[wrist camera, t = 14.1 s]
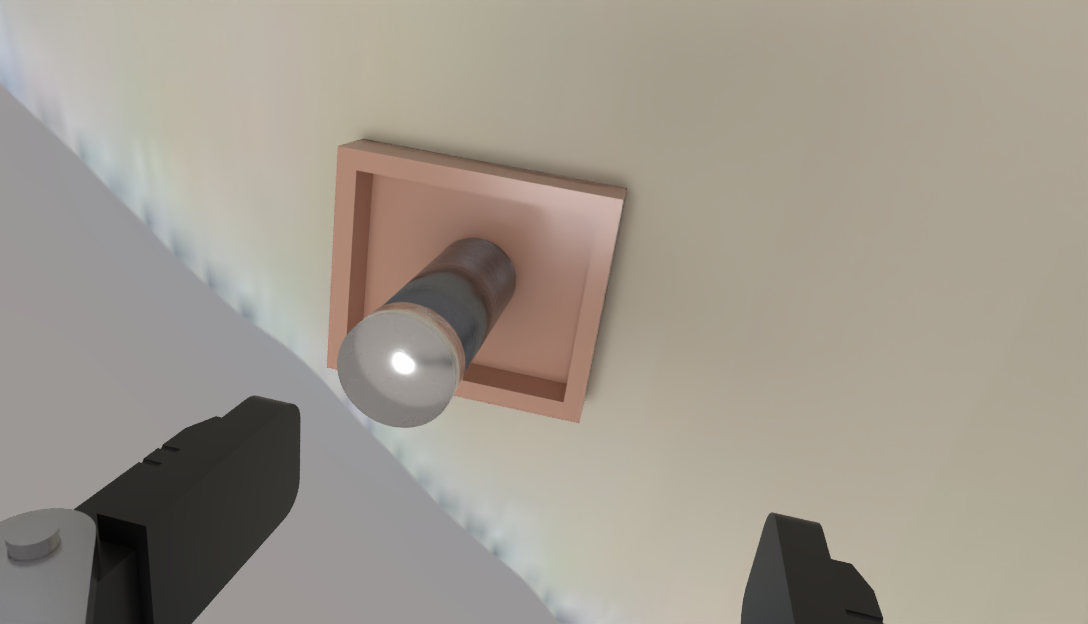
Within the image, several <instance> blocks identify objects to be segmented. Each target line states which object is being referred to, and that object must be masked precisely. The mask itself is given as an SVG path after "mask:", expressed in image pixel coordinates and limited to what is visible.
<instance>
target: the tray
mask: <svg viewBox="0 0 1088 624" xmlns="http://www.w3.org/2000/svg"><path fill="white" fill-rule="evenodd" d="M626 191H627V188H621V187H616V186H611V185H605V184H600V183H595V182H589V181H584V180H579V179H573V178H568V177H563V176H557V175H552V174H547V173H541V172H536V171H531V170H525V169H520V168H515V167H509V166H504V165H499V164H493V163H488V162H483V161H477V160H472V159H467V158H461V157H456V156H451V155H445V154H440V153H435V152H429V151H424V150H419V149H413V148H408V147H403V146H397V145H392V144H386V143H381V142H376V141H370V140H365V139H361V140H357V141H354V142H350V143H347V144H343V145H340V146H338V154H337V174H336V195H335V215H334V235H333V256H332V276H331V296H330V316H329V337H328V357H327V368H332V369H336V370H338V369H337V359H338V353H339V349H340V346H341V344H342V342H343V340H344V338H345V337H346V335H347V334H348V333H349V332H350V331H351V330H352V329H353V328H354V327H355V326H356V325H357V324H359V323H360V322H361V321H362V320H363V319H364V318H365V317H366V316H368V315H369V314H370V313H371V312H372V311H374V310H375V309H377V308H379V307H381V306H383V305H384V304H385V303H386V302H387V301H388V300H389V299H390V298H391V297H393V296H394V295H395V294H396V293H397V292H398V291H399V290H400V289H401V288H403V287H404V286H405V285H406V284H407V283H408V282H409V281H410V280H411V279H412V278H414V277H415V276H416V275H417V274H418V273H419V272H420V271H421V270H422V269H424V268H425V267H426V266H427V265H428V264H429V263H430V262H431V261H432V260H434V259H435V258H436V257H437V256H438V255H439V254H440V253H441V252H442V251H444V250H445V249H446V248H447V247H448V246H449V245H451V244H452V243H454V242H456V241H458V240H461V239H464V238H480V239H484V240H487V241H490V242H492V243H494V244H495V245H497V246H498V247H500V248H501V249H502V250H503V251H504V252H505V253H506V254H507V256H508V257H509V259H510V260H511V262H512V264H513V267H514V270H515V274H516V287H515V291H514V294H513V296H512V298H511V300H510V302H509V303H508V305H507V306H506V308H505V310H504V311H503V313H502V314H501V316H500V318H499V319H498V321H497V322H496V324H495V325H494V327H493V329H492V330H491V332H490V333H489V335H488V337H487V338H486V340H485V341H484V343H483V344H482V346H481V348H480V349H479V351H478V352H477V354H476V356H475V357H474V359H473V360H472V362H471V364H470V365H469V367H468V368H467V370H466V371H465V373H464V376H463V379H462V382H461V383H460V385H459V387H458V389H457V390H456V392H455V394H454V396H458V397H463V398H467V399H472V400H477V401H481V402H486V403H490V404H495V405H499V406H504V407H508V408H513V409H517V410H522V411H526V412H531V413H535V414H540V415H544V416H549V417H553V418H558V419H562V420H567V421H571V422H576V423H579V421H580V417H581V413H582V409H583V405H584V401H585V396H586V391H587V386H588V381H589V376H590V371H591V366H592V361H593V356H594V351H595V346H596V341H597V336H598V331H599V326H600V321H601V316H602V311H603V306H604V301H605V296H606V291H607V286H608V281H609V276H610V271H611V266H612V261H613V256H614V251H615V246H616V241H617V236H618V231H619V226H620V221H621V216H622V211H623V206H624V201H625V196H626Z"/></svg>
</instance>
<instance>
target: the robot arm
mask: <svg viewBox="0 0 1088 624" xmlns="http://www.w3.org/2000/svg"><path fill="white" fill-rule="evenodd" d="M299 480H300V412H299V409H298V407H297V406H296V405H295V404H291V403H286V402H282V401H277V400H273V399H268V398H264V397H260V396H251V397H249V398H247V399H246V400H244V401H243V402H242V403H241V404H239V405H238V406H237V407H235V408H234V409H233V410H231V411H230V412H229V413H228V414H226V415H225V416H224V417H222V418H221V417H217V416H216V417H213V418H211V419H208V420H205V421H203V422H200V423H198V424H195V425H192V426H190V427H187V428H185V429H184V430H182V431H181V432H179V433H178V434H177V435H176V436H174V437H173V438H171V439H170V440H169V441H167V442H166V443H164V444H163V446H162V448H161V449H159V448H158V449H156V450H155V451H153V452H152V453H151V454H149V455H148V456H147V457H145V458H144V460H143V462H142V463H140V462H138V463H137V464H136V465H134V466H133V467H132V468H130V469H129V470H127V471H126V472H125V473H123V474H122V475H120V476H119V477H118V478H116V479H115V480H114V481H112V482H111V483H110V484H108V485H107V486H105V487H104V488H103V489H101V490H100V491H99V492H97V493H96V494H94V495H93V496H92V497H90V498H89V499H88V500H86V501H85V502H83V503H82V504H81V505H79V506H78V507H77V508H75V509H74V510H72V509H63V508H56V509H55V508H54V509H53V508H51V509H41V510H35V511H31V512H27V513H23V514H19V515H16V516H13V517H11V518H8V519H6V520H4V521H1V522H0V624H192V623H193V621H194V620H195V619H196V618H197V617H198V616H199V615H200V614H201V612H202V611H203V610H204V609H205V608H206V607H207V606H208V605H209V603H210V602H211V601H212V600H213V599H214V598H215V597H216V596H217V594H218V593H219V592H220V591H221V590H222V589H223V588H224V586H225V585H226V584H227V583H228V582H229V581H230V580H231V579H232V577H233V576H234V575H235V574H236V573H237V572H238V571H239V569H240V568H241V567H242V566H243V565H244V564H245V563H246V562H247V560H248V559H249V558H250V557H251V556H252V555H253V554H254V553H255V551H256V550H257V549H258V548H259V547H260V546H261V545H262V544H263V542H264V541H265V540H266V539H267V538H268V537H269V536H270V534H271V533H272V532H273V531H274V530H275V529H276V528H277V527H278V526H279V524H280V523H281V522H282V521H283V520H284V519H285V518H286V516H287V515H288V513H289V512H290V510H291V508H292V506H293V504H294V502H295V499H296V496H297V492H298V488H299ZM741 624H883V616H882V613H881V610H880V608H879V605H878V602H877V599H876V596H875V593H874V590H873V589H872V588H871V587H870V586H869V584H868V583H867V582H866V581H865V580H864V578H863V577H862V576H861V575H860V574H859V572H858V571H857V570H856V569H855V568H854V566H853V565H852V564H850V563H846V562H841V561H837V560H833V559H831V557H830V554H829V550H828V547H827V543H826V540H825V536H824V532H823V529H822V526H821V525H820V524H819V523H817V522H812V521H808V520H803V519H799V518H794V517H790V516H785V515H781V514H777V513H770V514H769V515H768V517H767V519H766V522H765V525H764V528H763V531H762V535H761V538H760V542H759V545H758V548H757V552H756V555H755V558H754V562H753V565H752V569H751V572H750V575H749V579H748V582H747V586H746V589H745V593H744V598H743V605H742V613H741Z"/></svg>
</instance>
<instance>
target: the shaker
mask: <svg viewBox="0 0 1088 624" xmlns="http://www.w3.org/2000/svg"><path fill="white" fill-rule="evenodd" d="M515 287H516V274H515V270H514V267H513V264H512V262H511V260H510V259H509V257H508V256H507V254H506V253H505V252H504V251H503V250H502V249H501V248H500V247H498V246H497V245H495V244H494V243H492V242H490V241H487V240H484V239H480V238H464V239H461V240H458V241H456V242H454V243H452V244H451V245H449V246H448V247H447V248H446V249H445V250H444V251H442V252H441V253H440V254H439V255H438V256H437V257H436V258H435V259H434V260H432V261H431V262H430V263H429V264H428V265H427V266H426V267H425V268H424V269H422V270H421V271H420V272H419V273H418V274H417V275H416V276H415V277H414V278H412V279H411V280H410V281H409V282H408V283H407V284H406V285H405V286H404V287H403V288H401V289H400V290H399V291H398V292H397V293H396V294H395V295H394V296H393V297H391V298H390V299H389V300H388V301H387V302H386V303H385V304H384V305H383V306H381V307H379V308H377V309H375V310H374V311H372V312H371V313H370V314H369V315H368V316H366V317H365V318H364V319H363V320H362V321H361V322H360V323H359V324H357V325H356V326H355V327H354V328H353V329H352V330H351V331H350V332H349V333H348V334H347V335H346V337H345V338H344V340H343V342H342V344H341V346H340V349H339V353H338V359H337V369H338V376H339V379H340V382H341V385H342V387H343V389H344V391H345V393H346V395H347V396H348V398H349V399H350V400H351V402H352V403H353V404H354V405H355V406H356V407H357V408H358V409H359V410H360V411H361V412H362V413H364V414H365V415H367V416H368V417H370V418H371V419H373V420H375V421H377V422H380V423H382V424H385V425H388V426H393V427H401V428H408V427H416V426H420V425H423V424H426V423H428V422H430V421H432V420H433V419H435V418H436V417H437V416H439V415H440V414H441V413H442V412H443V410H444V409H445V408H446V406H447V405H448V403H449V402H450V400H451V398H452V397H453V395H454V394H455V392H456V390H457V389H458V387H459V385H460V383H461V382H462V379H463V376H464V373H465V371H466V370H467V368H468V367H469V365H470V364H471V362H472V360H473V359H474V357H475V356H476V354H477V352H478V351H479V349H480V348H481V346H482V344H483V343H484V341H485V340H486V338H487V337H488V335H489V333H490V332H491V330H492V329H493V327H494V325H495V324H496V322H497V321H498V319H499V318H500V316H501V314H502V313H503V311H504V310H505V308H506V306H507V305H508V303H509V302H510V300H511V298H512V296H513V294H514V291H515Z"/></svg>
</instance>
